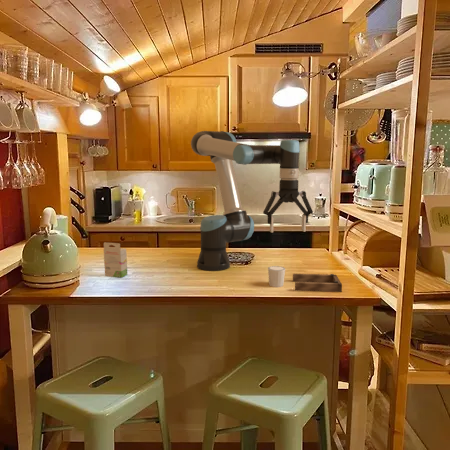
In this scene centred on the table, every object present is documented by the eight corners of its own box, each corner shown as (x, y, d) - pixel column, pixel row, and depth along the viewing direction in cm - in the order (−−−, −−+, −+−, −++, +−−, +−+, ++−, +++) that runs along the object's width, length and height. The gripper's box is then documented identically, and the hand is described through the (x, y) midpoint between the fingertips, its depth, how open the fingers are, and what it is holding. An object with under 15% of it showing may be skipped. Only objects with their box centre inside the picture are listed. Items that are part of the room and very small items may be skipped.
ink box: (128, 274, 183) (126, 241, 181) (121, 278, 179) (120, 243, 176) (110, 272, 186) (109, 239, 184) (104, 276, 181) (102, 242, 179)
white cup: (266, 282, 173) (266, 265, 172) (282, 282, 174) (283, 265, 172) (269, 287, 166) (269, 270, 165) (286, 287, 167) (287, 270, 166)
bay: (295, 290, 163) (295, 281, 162) (292, 280, 176) (292, 272, 175) (341, 291, 161) (342, 282, 161) (335, 281, 174) (336, 273, 174)
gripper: (260, 180, 164) (260, 233, 168) (322, 179, 168) (320, 232, 172) (256, 178, 172) (255, 230, 175) (315, 178, 176) (313, 228, 179)
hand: (287, 231), depth 174 cm, fingers open, 13 cm apart
